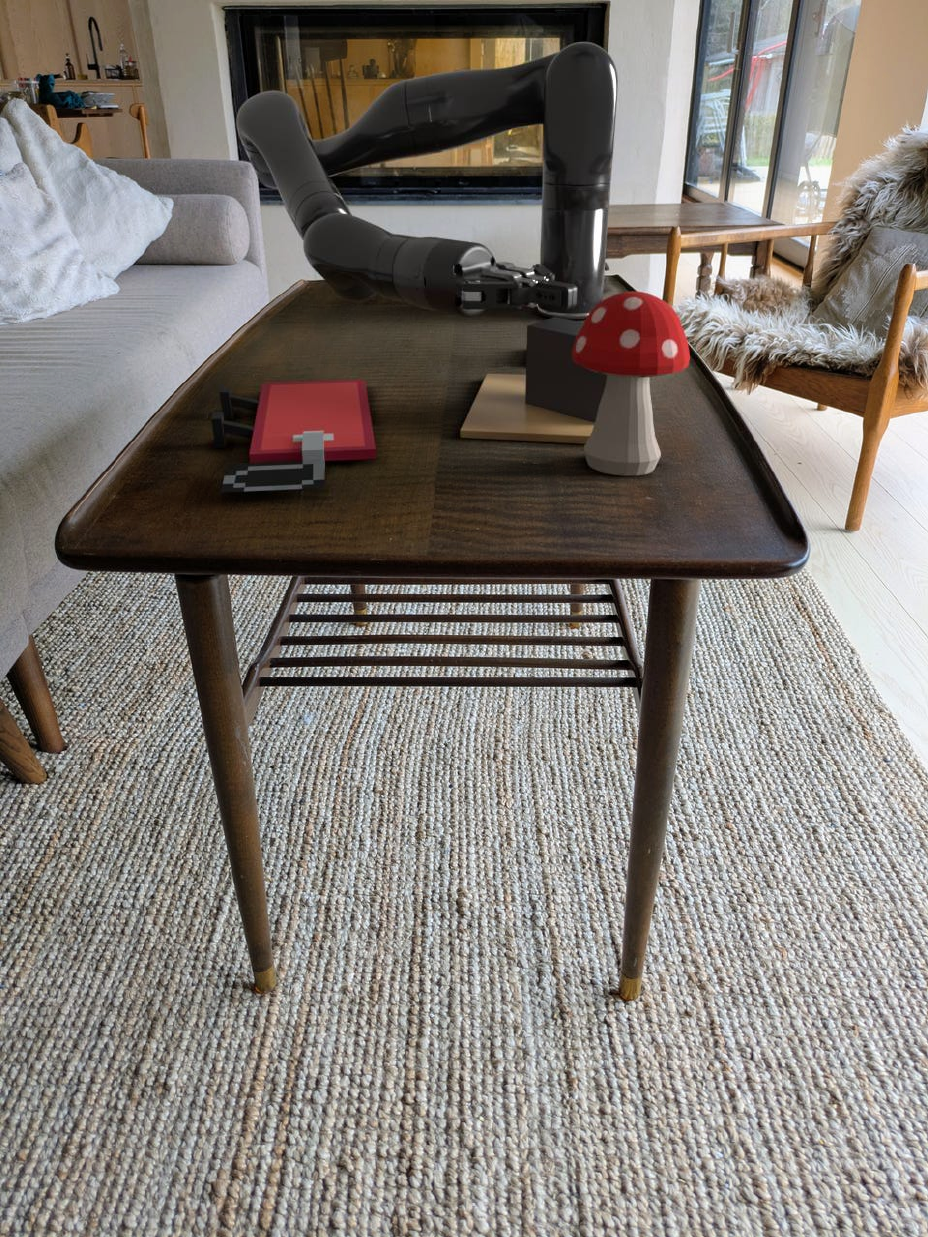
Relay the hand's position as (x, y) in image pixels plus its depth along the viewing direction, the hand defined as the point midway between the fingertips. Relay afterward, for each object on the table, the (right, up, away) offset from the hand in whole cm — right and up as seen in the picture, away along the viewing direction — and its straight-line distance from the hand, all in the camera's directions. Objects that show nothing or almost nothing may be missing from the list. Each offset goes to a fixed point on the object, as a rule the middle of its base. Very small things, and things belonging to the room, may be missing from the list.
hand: (572, 297), depth 88 cm
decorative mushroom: (+4, -18, -6) cm, 19 cm away
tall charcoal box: (-3, -5, +5) cm, 8 cm away
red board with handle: (-27, -14, 0) cm, 30 cm away
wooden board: (-1, -9, +7) cm, 12 cm away
